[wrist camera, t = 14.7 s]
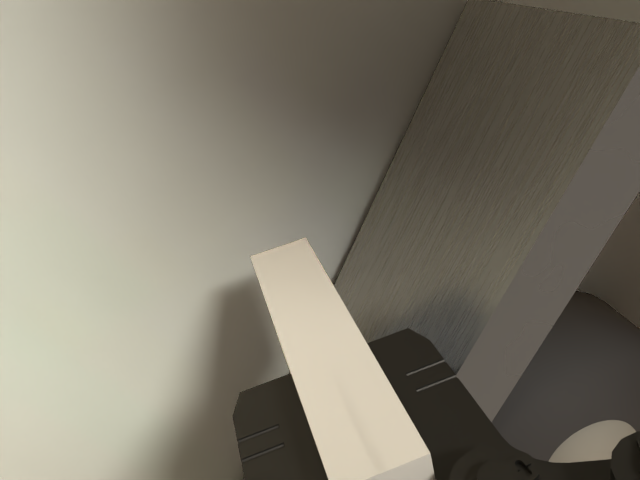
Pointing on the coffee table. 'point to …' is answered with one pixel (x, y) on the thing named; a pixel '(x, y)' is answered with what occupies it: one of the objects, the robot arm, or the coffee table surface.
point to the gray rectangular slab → (501, 190)
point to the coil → (577, 387)
